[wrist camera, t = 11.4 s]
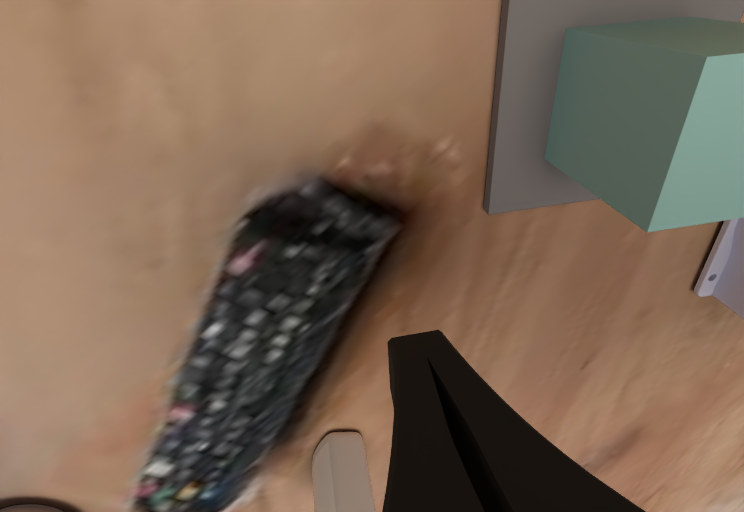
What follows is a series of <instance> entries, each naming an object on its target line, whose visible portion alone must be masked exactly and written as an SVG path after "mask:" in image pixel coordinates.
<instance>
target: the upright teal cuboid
mask: <svg viewBox="0 0 744 512" xmlns="http://www.w3.org/2000/svg"><path fill="white" fill-rule="evenodd" d="M544 159H545V160H547V161H548V162H549V163H551V164H552V165H554V166H555V167H556V168H558V169H559V170H561V171H562V172H563V173H565V174H566V175H568V176H569V177H570V178H572V179H573V180H575V181H576V182H577V183H579V184H580V185H582V186H583V187H584V188H586V189H587V190H589V191H590V192H591V193H593V194H594V195H596V196H597V197H598V198H600V199H601V200H603V201H604V202H605V203H607V204H608V205H610V206H611V207H612V208H614V209H615V210H617V211H618V212H619V213H621V214H622V215H624V216H625V217H626V218H628V219H629V220H631V221H632V222H633V223H635V224H636V225H638V226H639V227H640V228H642V229H643V230H645V231H646V232H653V231H660V230H666V229H673V228H679V227H686V226H692V225H699V224H705V223H712V222H718V221H725V220H731V219H738V218H744V23H741V22H732V21H723V20H715V19H706V18H697V17H681V18H670V19H660V20H649V21H638V22H628V23H617V24H606V25H596V26H585V27H574V28H566V34H565V40H564V46H563V52H562V58H561V63H560V69H559V75H558V81H557V87H556V93H555V99H554V105H553V111H552V117H551V122H550V128H549V134H548V140H547V146H546V152H545V158H544Z"/></svg>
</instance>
